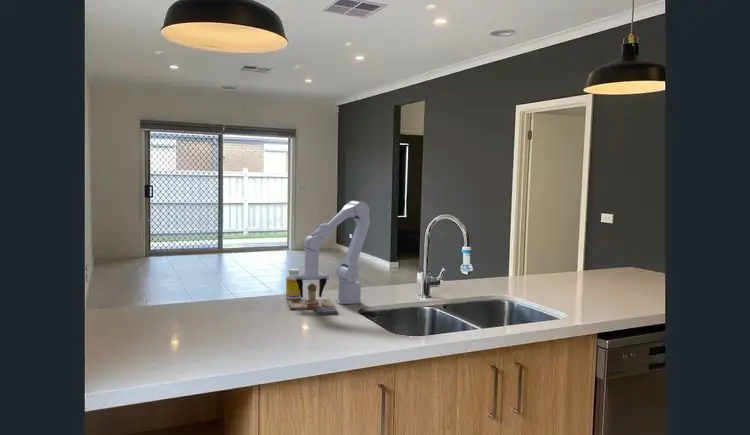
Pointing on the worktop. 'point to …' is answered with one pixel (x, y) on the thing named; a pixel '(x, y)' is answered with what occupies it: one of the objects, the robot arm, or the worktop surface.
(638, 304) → the worktop surface
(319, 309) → the ink pad
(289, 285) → the supplement bottle
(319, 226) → the robot arm
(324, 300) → the board
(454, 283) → the worktop surface
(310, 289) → the stamp
